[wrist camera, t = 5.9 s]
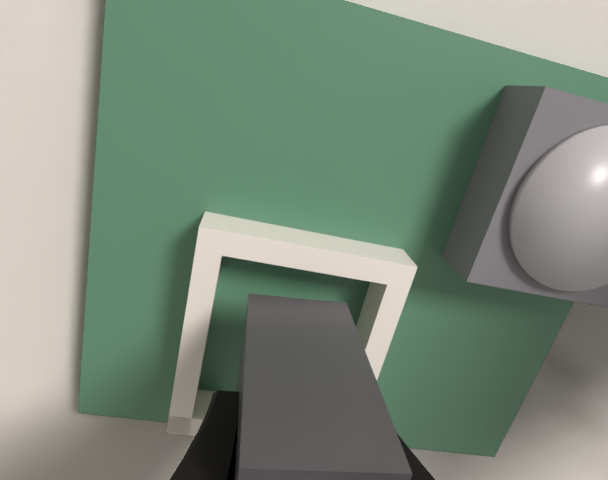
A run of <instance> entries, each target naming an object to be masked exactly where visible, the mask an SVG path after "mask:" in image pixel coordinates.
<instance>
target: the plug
mask: <svg viewBox="0 0 608 480" xmlns="http://www.w3.org/2000/svg"><path fill="white" fill-rule="evenodd" d="M236 392H239V412H238V426H237V433H236V441H235V448H234V456H233V464H232V471H231V479H230V480H411V477H412V471H411V469H410V466H409V463H408V461H407V458H406V456H405V453H404V451H403V448H402V445H401V443H400V440H399V438H398V435H397V432H396V430H395V427H394V425H393V422H392V419H391V417H390V414H389V412H388V409H387V406H386V404H385V401H384V399H383V396H382V393H381V391H380V388H379V386H378V383H377V380H376V378H375V375H374V373H373V370H372V367H371V365H370V362H369V360H368V357H367V355H366V352H365V349H364V347H363V344H362V342H361V339H360V336H359V334H358V331H357V329H356V326H355V323H354V321H353V318H352V316H351V313H350V310H349V308H348V305H347V303H345V302H334V301H323V300H312V299H302V298H291V297H280V296H269V295H259V294H248V302H247V310H246V318H245V326H244V334H243V342H242V350H241V358H240V366H239V374H238V381H237V389H236Z"/></svg>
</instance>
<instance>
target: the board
mask: <svg viewBox="0 0 608 480" xmlns="http://www.w3.org/2000/svg"><path fill="white" fill-rule="evenodd" d="M248 294H259V295H269V296H280V297H291V298H302V299H312V300H323V301H334V302H345V303H347V305H348V308H349V310H350V313H351V316H352V318H353V321H354V323H355V326H356V329H357V331H358V334H359V336H360V339H361V342H362V344H363V347H364V349H365V352H366V355H367V357H368V360H369V362H370V365H371V367H372V370H373V373H374V375H375V378H376V380H377V383H378V386H379V388H380V391H381V393H382V396H383V399H384V401H385V404H386V406H387V409H388V412H389V414H390V417H391V419H392V422H393V425H394V427H395V430H396V432H397V434H398V435H399V436H400V437H401V439H402V440H403V441H404V443H405V444H406V445H407V446H408V448H414V449H424V450H433V451H443V452H452V453H462V454H471V455H481V456H490V457H495V455H496V453H497V451H498V449H499V447H500V445H501V443H502V441H503V439H504V437H505V435H506V433H507V431H508V429H509V427H510V425H511V423H512V421H513V420H514V418H515V416H516V414H517V412H518V410H519V408H520V406H521V404H522V402H523V400H524V398H525V396H526V394H527V392H528V390H529V388H530V386H531V384H532V382H533V380H534V378H535V376H536V375H537V373H538V371H539V369H540V367H541V365H542V363H543V361H544V359H545V357H546V355H547V353H548V351H549V349H550V347H551V345H552V343H553V341H554V339H555V337H556V335H557V333H558V331H559V329H560V328H561V326H562V324H563V322H564V320H565V318H566V316H567V314H568V312H569V310H570V308H571V306H572V304H573V302H574V301H575V302H581V303H586V304H591V305H597V306H602V307H608V78H607V77H603V76H600V75H597V74H593V73H590V72H586V71H583V70H580V69H576V68H573V67H569V66H566V65H563V64H559V63H556V62H552V61H549V60H546V59H542V58H539V57H535V56H532V55H528V54H525V53H522V52H518V51H515V50H511V49H508V48H505V47H501V46H498V45H494V44H491V43H488V42H484V41H481V40H477V39H474V38H471V37H467V36H464V35H460V34H457V33H454V32H450V31H447V30H443V29H440V28H437V27H433V26H430V25H426V24H423V23H420V22H416V21H413V20H409V19H406V18H403V17H399V16H396V15H392V14H389V13H386V12H382V11H379V10H375V9H372V8H369V7H365V6H362V5H358V4H355V3H352V2H348V1H345V0H106V1H105V16H104V30H103V45H102V60H101V75H100V90H99V105H98V120H97V135H96V150H95V165H94V179H93V194H92V209H91V224H90V239H89V254H88V269H87V284H86V299H85V314H84V329H83V343H82V358H81V373H80V388H79V403H78V413H83V414H92V415H102V416H111V417H120V418H130V419H139V420H149V421H158V422H168V424H167V430H166V433H168V434H178V435H188V436H196V434H197V432H198V430H199V428H200V426H201V424H202V422H203V419H204V417H205V415H206V413H207V410H208V408H209V405H210V402H211V398H212V394H213V393H214V392H216V391H217V390H219V391H236V389H237V381H238V374H239V366H240V358H241V350H242V342H243V334H244V326H245V318H246V310H247V302H248Z"/></svg>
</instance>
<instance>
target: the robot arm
mask: <svg viewBox="0 0 608 480" xmlns="http://www.w3.org/2000/svg"><path fill="white" fill-rule="evenodd" d="M238 412H239V392H236V391H219V390H217V391H216V392H214V393H213V394H212V398H211V402H210V405H209V408H208V410H207V413H206V415H205V417H204V419H203V422H202V424H201V426H200V428H199V430H198V432H197V434H196V436H195V438H194V440H193V441H192V443H191V445H190V447H189V449H188V451H187V453H186V454H185V456H184V458H183V460H182V461H181V463H180V464H179V466H178V468H177V469H176V471H175V472H174V474H173V476H172V477H171V479H170V480H230V479H231V471H232V464H233V456H234V448H235V441H236V433H237V426H238ZM397 435H398V434H397ZM398 438H399V440H400V443H401V445H402V448H403V451H404V453H405V456H406V458H407V461H408V463H409V466H410V469H411V471H412V477H411V480H435V479H434V478H433V477H432V476H431V474H430V473H429V472H428V471H427V470H426V469H425V467H424V466H423V465H422V464H421V462H420V461H419V460H418V459H417V458H416V456H415V455H414V454H413V453H412V451H411V450H410V449H409V448H408V446H407V445H406V444H405V443H404V441H403V440H402V439H401V437H400V436H399V435H398Z"/></svg>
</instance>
